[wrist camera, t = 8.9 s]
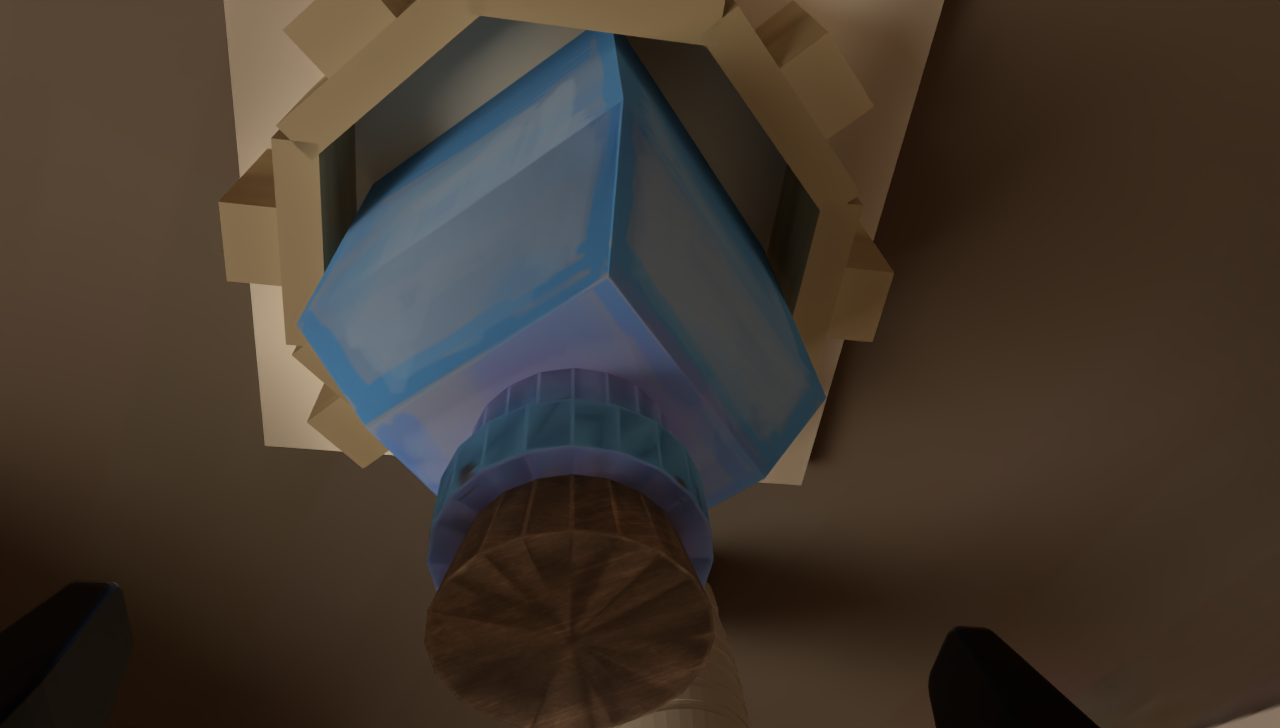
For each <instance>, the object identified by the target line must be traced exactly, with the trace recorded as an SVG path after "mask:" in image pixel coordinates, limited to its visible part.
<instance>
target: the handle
mask: <svg viewBox="0 0 1280 728" xmlns="http://www.w3.org/2000/svg"><path fill="white" fill-rule="evenodd" d="M704 590H705V592H706V595H707V597H708V599H709V601H710V603H711V605H712V612H713V621H714V631H715V639H714V642H713V645H712V648H711V651H710V654H709V657H708V660H707V663H706V665H705V668H704V669H703V670H702V671H701V673H700V674H699V675H698V676H697V677H696V678H695V680H694V681H693V682H692V683H691V684H690V686H689V687H688V688H687V689H686V690H685V691H684V693H683V694H681V695H680V696H678V697H677V698H675V699H674V700H672V701H671V702H669V703H667V704H666V705H664V706H663V707H661V708H660V709H658V710H657V711H655V712H653V713H652V714H650V715H647V716H644V717H641V718H638V719H636V720H633V721H630V722H627V723H624V724H621V725H618V726H615V727H612V728H750V726H749V721H748V715H747V710H746V705H745V700H744V696H743V691H742V687H741V683H740V679H739V676H738V672H737V668H736V665H735V661H734V658H733V655H732V651H731V648H730V645H729V642H728V639H727V636H726V633H725V631H724V628H723V626H722V623H721V621H720V619H719V616H718V615H719V613H718V607H717V603H716V600H715V596H714V594H713V591H712V589H711V587H710V584H709V583H708V582H706V585H705V588H704Z"/></svg>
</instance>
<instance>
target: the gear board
mask: <svg viewBox="0 0 1280 728" xmlns="http://www.w3.org/2000/svg"><path fill="white" fill-rule="evenodd" d="M943 3H944V0H224V8H225V19H226V29H227V40H228V51H229V62H230V73H231V83H232V94H233V105H234V116H235V127H236V138H237V148H238V159H239V170H240V179H239V180H238V181H237V182H236V183H235V184H234V186H233V187H232V188H231V189H230V190H229V191H228V192H227V193H226V194H225V195H224V196H223V198H222V199H221V200H220V201H219V210H220V220H221V229H222V238H223V248H224V257H225V267H226V276H227V281H231V282H242V283H250V289H251V300H252V310H253V321H254V332H255V343H256V354H257V365H258V375H259V386H260V397H261V408H262V419H263V429H264V440H265V446H276V447H290V448H303V449H317V450H330V451H342V452H343V453H345V454H346V455H347V456H348V457H349V458H351V459H352V460H353V461H354V462H356V463H357V464H358V465H359V466H360V467H362V468H363V469H364V468H365V467H366V466H368V465H369V464H371V463H372V462H373V461H375V460H376V459H378V458H379V457H380V456H382V455H383V454H384V455H393V454H392V453H391V452H390V451H389V450H388V449H387V448H386V447H385V446H384V445H383V444H382V443H381V442H380V441H379V440H378V439H377V438H376V437H374V436H373V435H372V434H371V433H370V432H369V431H368V430H367V429H366V427H365V426H364V424H363V423H362V421H361V420H360V418H359V417H358V415H357V414H356V412H355V411H354V409H353V408H352V406H351V405H350V403H349V402H348V400H347V399H346V397H345V396H344V394H343V393H342V391H341V390H340V388H339V387H338V385H337V384H336V382H335V381H334V379H333V378H332V376H331V375H330V373H329V372H328V370H327V369H326V368H325V366H324V365H323V363H322V362H321V360H320V359H319V357H318V356H317V354H316V353H315V351H314V350H313V348H312V347H311V345H310V344H309V342H308V341H307V339H306V338H305V336H304V335H303V333H302V332H301V330H300V329H299V327H298V326H297V322H298V320H299V319H300V317H301V315H302V313H303V311H304V309H305V308H306V306H307V304H308V302H309V300H310V298H311V297H312V295H313V293H314V291H315V289H316V287H317V286H318V284H319V282H320V280H321V278H322V276H323V275H324V273H325V271H326V269H327V267H328V265H329V264H330V262H331V260H332V258H333V256H334V254H335V253H336V251H337V249H338V247H339V245H340V243H341V242H342V240H343V238H344V236H345V234H346V232H347V231H348V229H349V227H350V225H351V223H352V221H353V220H354V218H355V216H356V214H357V212H358V210H359V209H360V207H361V205H362V203H363V201H364V200H365V198H366V196H367V194H368V192H369V190H370V189H371V187H372V185H373V184H374V183H375V182H377V181H378V180H379V179H381V178H382V177H384V176H385V175H386V174H388V173H389V172H391V171H392V170H393V169H395V168H396V167H397V166H399V165H400V164H402V163H403V162H404V161H406V160H407V159H408V158H410V157H411V156H413V155H414V154H415V153H417V152H418V151H420V150H421V149H422V148H424V147H425V146H426V145H428V144H429V143H431V142H432V141H433V140H435V139H436V138H438V137H439V136H440V135H442V134H443V133H444V132H446V131H447V130H449V129H450V128H451V127H453V126H454V125H456V124H457V123H458V122H460V121H461V120H462V119H464V118H465V117H467V116H468V115H469V114H471V113H472V112H473V111H475V110H476V109H478V108H479V107H480V106H482V105H483V104H485V103H486V102H487V101H489V100H490V99H491V98H493V97H494V96H496V95H497V94H498V93H500V92H501V91H503V90H504V89H505V88H507V87H508V86H509V85H511V84H512V83H514V82H515V81H516V80H518V79H519V78H520V77H522V76H523V75H525V74H526V73H527V72H529V71H530V70H532V69H533V68H534V67H536V66H537V65H538V64H540V63H541V62H543V61H544V60H545V59H547V58H548V57H550V56H551V55H552V54H554V53H555V52H556V51H558V50H559V49H561V48H562V47H563V46H565V45H566V44H568V43H569V42H570V41H572V40H573V39H574V38H576V37H577V36H579V35H580V34H581V33H583V32H584V31H585V30H591V31H599V32H606V33H614V34H621V35H625V37H626V38H627V40H628V41H629V43H630V45H631V46H632V48H633V49H634V51H635V52H636V54H637V55H638V57H639V58H640V60H641V61H642V63H643V64H644V66H645V68H646V69H647V71H648V72H649V74H650V75H651V77H652V78H653V80H654V81H655V83H656V84H657V86H658V87H659V89H660V91H661V92H662V94H663V95H664V97H665V98H666V100H667V101H668V103H669V104H670V106H671V107H672V109H673V110H674V112H675V114H676V115H677V117H678V118H679V120H680V121H681V123H682V124H683V126H684V127H685V129H686V130H687V132H688V133H689V135H690V137H691V138H692V140H693V141H694V143H695V144H696V146H697V147H698V149H699V150H700V152H701V153H702V155H703V156H704V158H705V160H706V161H707V163H708V164H709V166H710V167H711V169H712V170H713V172H714V173H715V175H716V176H717V178H718V179H719V181H720V183H721V184H722V186H723V187H724V189H725V190H726V192H727V193H728V195H729V196H730V198H731V199H732V201H733V202H734V204H735V205H736V207H737V209H738V210H739V212H740V213H741V215H742V216H743V218H744V219H745V221H746V222H747V224H748V225H749V227H750V228H751V230H752V232H753V233H754V235H755V236H756V238H757V239H758V241H759V242H760V244H761V245H762V247H763V249H764V251H765V253H766V256H767V258H768V260H769V263H770V265H771V267H772V270H773V272H774V275H775V277H776V279H777V282H778V284H779V286H780V289H781V291H782V293H783V296H784V298H785V301H786V303H787V305H788V308H789V310H790V312H791V315H792V317H793V319H794V322H795V324H796V327H797V329H798V331H799V334H800V336H801V338H802V341H803V343H804V345H805V348H806V350H807V353H808V355H809V357H810V360H811V362H812V364H813V367H814V369H815V371H816V374H817V376H818V379H819V381H820V383H821V386H822V388H823V390H824V393H825V395H826V397H827V396H828V393H829V389H830V386H831V383H832V379H833V376H834V373H835V369H836V366H837V362H838V359H839V356H840V352H841V349H842V345H843V342H844V340H854V341H864V342H873V339H874V336H875V333H876V330H877V326H878V323H879V320H880V317H881V314H882V311H883V307H884V304H885V301H886V298H887V295H888V291H889V288H890V285H891V282H892V279H893V276H894V271H893V270H892V269H891V267H890V266H889V264H888V263H887V261H886V260H885V258H884V257H883V255H882V254H881V252H880V251H879V250H878V248H877V247H876V245H875V244H874V242H873V240H874V237H875V234H876V230H877V227H878V223H879V220H880V217H881V213H882V210H883V207H884V203H885V200H886V196H887V193H888V190H889V186H890V183H891V179H892V176H893V173H894V169H895V166H896V162H897V159H898V156H899V152H900V149H901V146H902V142H903V139H904V135H905V132H906V129H907V125H908V122H909V118H910V115H911V112H912V108H913V105H914V101H915V98H916V95H917V91H918V88H919V85H920V81H921V78H922V74H923V71H924V68H925V64H926V61H927V57H928V54H929V51H930V47H931V44H932V40H933V37H934V34H935V30H936V27H937V24H938V20H939V17H940V13H941V10H942V7H943ZM826 400H827V398H826V399H825V401H824V402H823V403H822V404H821V406H820V407H819V408H818V410H817V411H816V412H815V414H814V415H813V416H812V418H811V419H810V420H809V421H808V423H807V424H806V425H805V427H804V428H803V429H802V431H801V432H800V433H799V435H798V436H797V437H796V438H795V440H794V441H793V442H792V444H791V445H790V446H789V448H788V449H787V450H786V452H785V453H784V454H783V455H782V457H781V458H780V459H779V461H778V462H777V463H776V465H775V466H774V467H773V469H772V470H771V471H770V472H769V474H768V475H767V476H766V478H765V479H763V480H761V481H759V482H764V483H777V484H791V485H801V484H802V481H803V478H804V474H805V471H806V467H807V464H808V461H809V457H810V454H811V450H812V447H813V444H814V440H815V437H816V434H817V430H818V427H819V423H820V420H821V417H822V413H823V410H824V406H825V403H826Z"/></svg>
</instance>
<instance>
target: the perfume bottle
mask: <svg viewBox="0 0 1280 728" xmlns="http://www.w3.org/2000/svg"><path fill="white" fill-rule="evenodd" d="M297 326H298V327H299V329H300V330H301V332H302V333H303V335H304V336H305V338H306V339H307V341H308V342H309V344H310V345H311V347H312V348H313V350H314V351H315V353H316V354H317V356H318V357H319V359H320V360H321V362H322V363H323V365H324V366H325V368H326V369H327V370H328V372H329V373H330V375H331V376H332V378H333V379H334V381H335V382H336V384H337V385H338V387H339V388H340V390H341V391H342V393H343V394H344V396H345V397H346V399H347V400H348V402H349V403H350V405H351V406H352V408H353V409H354V411H355V412H356V414H357V415H358V417H359V418H360V420H361V421H362V423H363V424H364V426H365V427H366V429H367V430H368V431H369V432H370V433H371V434H372V435H373V436H374V437H376V438H377V439H378V440H379V441H380V442H381V443H382V444H383V445H384V446H385V447H386V448H387V449H388V450H389V451H390V452H391V453H392V454H393V455H395V456H396V457H397V458H398V459H399V460H400V461H401V462H402V463H403V464H404V465H405V466H406V467H407V468H408V469H409V470H410V471H411V472H412V473H413V474H415V475H416V476H417V477H418V478H419V479H420V480H421V481H422V482H423V483H424V484H425V485H426V486H427V487H428V488H429V489H430V490H431V491H432V492H434V493H435V494H436V495H437V500H436V504H435V509H434V514H433V519H432V524H431V529H430V539H429V548H428V558H427V564H428V567H429V570H430V573H431V576H432V579H433V582H434V585H435V588H436V591H437V593H436V595H435V597H434V599H433V601H432V603H431V605H430V607H429V609H428V614H427V623H426V632H425V641H424V643H425V646H426V649H427V652H428V654H429V657H430V660H431V663H432V666H433V668H434V671H435V673H436V675H437V676H438V677H439V678H440V679H441V680H442V681H443V682H444V683H445V685H446V686H447V687H448V688H449V689H450V690H451V691H452V692H453V694H454V695H455V696H456V697H457V698H458V699H459V700H461V701H463V702H464V703H466V704H468V705H470V706H471V707H473V708H475V709H476V710H478V711H480V712H481V713H483V714H485V715H486V716H488V717H490V718H492V719H496V720H499V721H502V722H506V723H509V724H513V725H516V726H519V727H523V728H612V727H615V726H618V725H621V724H624V723H627V722H630V721H633V720H636V719H638V718H641V717H644V716H647V715H650V714H652V713H653V712H655V711H657V710H658V709H660V708H661V707H663V706H664V705H666V704H667V703H669V702H671V701H672V700H674V699H675V698H677V697H678V696H680V695H681V694H683V693H684V691H685V690H686V689H687V688H688V687H689V686H690V684H691V683H692V682H693V681H694V680H695V678H696V677H697V676H698V675H699V674H700V673H701V671H702V670H703V669H704V668H705V665H706V663H707V660H708V657H709V654H710V651H711V648H712V645H713V642H714V639H715V631H714V621H713V612H712V605H711V603H710V601H709V599H708V597H707V595H706V592H705V590H704V588H705V585H706V582H707V579H708V575H709V572H710V569H711V566H712V563H713V560H714V556H713V546H712V536H711V526H710V521H709V515H708V510H707V509H709V508H711V507H713V506H715V505H717V504H719V503H720V502H722V501H724V500H726V499H728V498H730V497H732V496H733V495H735V494H737V493H739V492H741V491H743V490H745V489H746V488H748V487H750V486H752V485H754V484H756V483H757V482H759V481H761V480H763V479H765V478H766V476H767V475H768V474H769V472H770V471H771V470H772V469H773V467H774V466H775V465H776V463H777V462H778V461H779V459H780V458H781V457H782V455H783V454H784V453H785V452H786V450H787V449H788V448H789V446H790V445H791V444H792V442H793V441H794V440H795V438H796V437H797V436H798V435H799V433H800V432H801V431H802V429H803V428H804V427H805V425H806V424H807V423H808V421H809V420H810V419H811V418H812V416H813V415H814V414H815V412H816V411H817V410H818V408H819V407H820V406H821V404H822V403H823V402H824V401H825V399H826V398H827V397H826V395H825V393H824V390H823V388H822V386H821V383H820V381H819V379H818V376H817V374H816V371H815V369H814V367H813V364H812V362H811V360H810V357H809V355H808V353H807V350H806V348H805V345H804V343H803V341H802V338H801V336H800V334H799V331H798V329H797V327H796V324H795V322H794V319H793V317H792V315H791V312H790V310H789V308H788V305H787V303H786V301H785V298H784V296H783V293H782V291H781V289H780V286H779V284H778V282H777V279H776V277H775V275H774V272H773V270H772V267H771V265H770V263H769V260H768V258H767V256H766V253H765V251H764V249H763V247H762V245H761V244H760V242H759V241H758V239H757V238H756V236H755V235H754V233H753V232H752V230H751V228H750V227H749V225H748V224H747V222H746V221H745V219H744V218H743V216H742V215H741V213H740V212H739V210H738V209H737V207H736V205H735V204H734V202H733V201H732V199H731V198H730V196H729V195H728V193H727V192H726V190H725V189H724V187H723V186H722V184H721V183H720V181H719V179H718V178H717V176H716V175H715V173H714V172H713V170H712V169H711V167H710V166H709V164H708V163H707V161H706V160H705V158H704V156H703V155H702V153H701V152H700V150H699V149H698V147H697V146H696V144H695V143H694V141H693V140H692V138H691V137H690V135H689V133H688V132H687V130H686V129H685V127H684V126H683V124H682V123H681V121H680V120H679V118H678V117H677V115H676V114H675V112H674V110H673V109H672V107H671V106H670V104H669V103H668V101H667V100H666V98H665V97H664V95H663V94H662V92H661V91H660V89H659V87H658V86H657V84H656V83H655V81H654V80H653V78H652V77H651V75H650V74H649V72H648V71H647V69H646V68H645V66H644V64H643V63H642V61H641V60H640V58H639V57H638V55H637V54H636V52H635V51H634V49H633V48H632V46H631V45H630V43H629V41H628V40H627V38H626V37H625V35H621V34H614V33H606V32H599V31H591V30H585V31H584V32H583V33H581V34H580V35H579V36H577V37H576V38H574V39H573V40H572V41H570V42H569V43H568V44H566V45H565V46H563V47H562V48H561V49H559V50H558V51H556V52H555V53H554V54H552V55H551V56H550V57H548V58H547V59H545V60H544V61H543V62H541V63H540V64H538V65H537V66H536V67H534V68H533V69H532V70H530V71H529V72H527V73H526V74H525V75H523V76H522V77H520V78H519V79H518V80H516V81H515V82H514V83H512V84H511V85H509V86H508V87H507V88H505V89H504V90H503V91H501V92H500V93H498V94H497V95H496V96H494V97H493V98H491V99H490V100H489V101H487V102H486V103H485V104H483V105H482V106H480V107H479V108H478V109H476V110H475V111H473V112H472V113H471V114H469V115H468V116H467V117H465V118H464V119H462V120H461V121H460V122H458V123H457V124H456V125H454V126H453V127H451V128H450V129H449V130H447V131H446V132H444V133H443V134H442V135H440V136H439V137H438V138H436V139H435V140H433V141H432V142H431V143H429V144H428V145H426V146H425V147H424V148H422V149H421V150H420V151H418V152H417V153H415V154H414V155H413V156H411V157H410V158H408V159H407V160H406V161H404V162H403V163H402V164H400V165H399V166H397V167H396V168H395V169H393V170H392V171H391V172H389V173H388V174H386V175H385V176H384V177H382V178H381V179H379V180H378V181H377V182H375V183H374V184H373V185H372V187H371V189H370V190H369V192H368V194H367V196H366V198H365V200H364V201H363V203H362V205H361V207H360V209H359V210H358V212H357V214H356V216H355V218H354V220H353V221H352V223H351V225H350V227H349V229H348V231H347V232H346V234H345V236H344V238H343V240H342V242H341V243H340V245H339V247H338V249H337V251H336V253H335V254H334V256H333V258H332V260H331V262H330V264H329V265H328V267H327V269H326V271H325V273H324V275H323V276H322V278H321V280H320V282H319V284H318V286H317V287H316V289H315V291H314V293H313V295H312V297H311V298H310V300H309V302H308V304H307V306H306V308H305V309H304V311H303V313H302V315H301V317H300V319H299V320H298V322H297Z"/></svg>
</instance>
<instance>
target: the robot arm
mask: <svg viewBox="0 0 1280 728" xmlns="http://www.w3.org/2000/svg"><path fill="white" fill-rule="evenodd" d="M131 651H132V633H131V628H130V623H129V619H128V614H127V610H126V605H125V600H124V596H123V592H122V589H121V587H120V586H119V585H118V584H117V583H115V582H112V581H97V580H76V581H73V582H71V583H69V584H67V585H65V586H64V587H62V588H61V589H60V590H58V591H57V592H55V593H54V594H52V595H51V596H50V597H48V598H47V599H45V600H44V601H42V602H41V603H40V604H38V605H37V606H35V607H34V608H32V609H31V610H30V611H28V612H27V613H25V614H24V615H22V616H21V617H20V618H18V619H17V620H15V621H14V622H12V623H11V624H10V625H8V626H7V627H5V628H4V629H2V630H1V631H0V728H106V726H107V723H108V720H109V717H110V714H111V711H112V708H113V706H114V703H115V700H116V697H117V694H118V691H119V688H120V685H121V683H122V680H123V677H124V674H125V671H126V668H127V665H128V663H129V659H130V655H131ZM928 688H929V697H930V702H931V706H932V711H933V716H934V721H935V726H936V728H1100V727H1099V726H1098V725H1096V724H1095V723H1094V722H1093V721H1092V720H1091V719H1090V718H1089V717H1088V716H1086V715H1085V714H1084V713H1083V712H1082V711H1081V710H1080V709H1079V708H1078V707H1076V706H1075V705H1074V704H1073V703H1072V702H1071V701H1070V700H1069V699H1068V698H1066V697H1065V696H1064V695H1063V694H1062V693H1061V692H1060V691H1059V690H1058V689H1056V688H1055V687H1054V686H1053V685H1052V684H1051V683H1050V682H1049V681H1048V680H1046V679H1045V678H1044V677H1043V676H1042V675H1041V674H1040V673H1039V672H1038V671H1036V670H1035V669H1034V668H1033V667H1032V666H1031V665H1030V664H1029V663H1028V662H1026V661H1025V660H1024V659H1023V658H1022V657H1021V656H1020V655H1019V654H1018V653H1016V652H1015V651H1014V650H1013V649H1012V648H1011V647H1010V646H1009V645H1008V644H1006V643H1005V642H1004V641H1003V640H1002V639H1001V638H1000V637H999V636H998V635H996V634H995V633H994V632H993V631H991V630H989V629H987V628H983V627H967V626H956V627H954V628H952V629H951V630H950V631H949V632H948V634H947V636H946V638H945V640H944V643H943V645H942V647H941V649H940V651H939V654H938V656H937V658H936V660H935V663H934V665H933V667H932V669H931V672H930V675H929V683H928Z"/></svg>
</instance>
